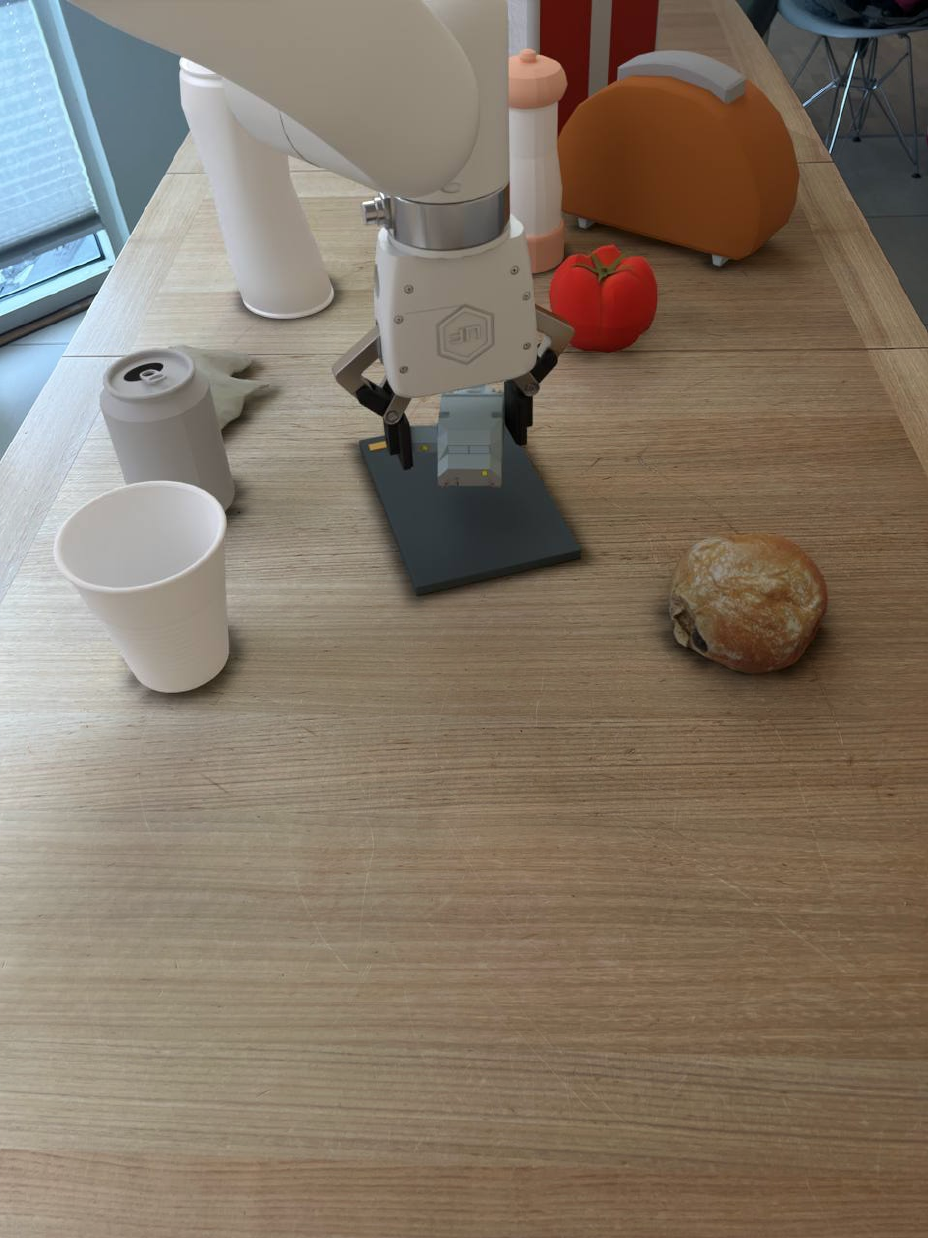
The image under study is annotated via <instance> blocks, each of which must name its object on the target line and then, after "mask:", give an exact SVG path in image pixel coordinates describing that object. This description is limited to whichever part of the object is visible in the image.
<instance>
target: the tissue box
mask: <svg viewBox="0 0 928 1238" xmlns="http://www.w3.org/2000/svg"><path fill="white" fill-rule="evenodd" d="M507 5H508V35H509V58H510V57H513V56H516V55H519V54H520V52H521V51H522V50H524V49H532V50H534V51H535V52H536V54H537V55H543V56H545V57H548V58H550V59H553V60H555V61H557V62H558V63H559V64H560V65H561V67H562V68H563V70H564V72H565V75H566V79H567V87H566V90H565V92H564V94H563V96H562V98H561V100H559V101H558V119H557V140H558V138H559V136H560V133H561V131H562V129H563V127H564V126H565V124H566V123H567V121H568V120H569V118H570V117H571V115H572V114H573V112H574V111H575V110H576V108H577V107H578V105H579V104H581V103H582V102H583V101H585V100H586V99H588V98H589V97H591V96H592V95H594V94H595V93H597V92H598V91H600V90H601V89H603V88H605V87H606V86H608V85H610V84H612V83H613V82H615V81H617V77H618V67H619V66H621V65H623V64H624V63H626V62H628V61H629V60H631V59H633V58H635V57H636V56H638V55H642V54H647V53H651V52H655V51H659V47H660V46H659V44H660V32H661V21H662V8H663V0H507Z"/></svg>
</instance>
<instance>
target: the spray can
mask: <svg viewBox="0 0 928 1238" xmlns="http://www.w3.org/2000/svg"><path fill="white" fill-rule="evenodd" d="M178 64H179V67H180V70H179V88H180V89H179V90H180V106H181V108H182V111H183V114H184V116H185V120H186V122H187V126H188V128H189V131H190V134H191V137H192V140H193V142H194V144H195V147H196V151H197V153H198V156H199V159H200V162H201V164H202V167H203V170H204V174H205V175H206V179H207V181H208V184H209V187H210V189H211V190H210V191H211V194H212V198H213V201H214V206H215V210H216V214H217V219H218V221H219V226H220V231H221V235H222V240H223V243H224V247H225V252H226V255H227V260H228V263H229V264H228V265H229V268H230V271H231V274H232V276H233V278H234V281H235V283H236V286H237V288H238V291H239V293H240V296H241V298H242V302H243V304H244V306H245V307H246V308H247V309H248V310H249V311H250V312H252V313H254V314H255V315H258V316H260V317H264V318H267V319H268V318H269V319H274V320H275V319H276V320H293V319H299V318H304V317H309V316H312V315H315V314H316V313H319V312H321V311H323V310H324V309H326V308H327V307H328V306H329V305H331V303H332V301H333V300H334V297H335V292H334V288H333V286H332V283H331V280H330V277H329V274H328V271H327V268H326V265H325V262H324V259H323V256H322V253H321V252H320V251H321V250H320V249H319V246H318V243H317V241H316V239H315V236H314V234H313V231H312V229H311V226H310V223H309V221H308V218H307V216H306V213H305V211H304V209H303V205H302V203H301V201H300V198H299V195H298V194H297V190H296V188H295V186H294V183H293V180H292V178H291V170H290V160H289V155H287V154H285V153H282V152H280V151H278V150H275V149H273V148H272V147H270V146H268V145H266V144H264V143H262V142H261V141H259V140H258V139H256V138H255V137H254V136H253V135H251V134H250V133H249V132H248V131H247V130H246V129H245V128H244V127H243V126H242V125H241V124H240V122H239V121H238V120H237V118H236V117H235V116H234V114H233V112H232V110H231V109H230V107H229V104H228V102H227V99H226V97H225V93H224V89H223V83H222V76H220V75H218V74H217V73H215V72H213V71H211V70H209V69H207V68H205V67H203V66H201V65H198V64H196V63H194V62H192V61H190V60H187V59H185V58H183V57H181V56H180V59H179V63H178Z"/></svg>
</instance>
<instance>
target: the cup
mask: <svg viewBox="0 0 928 1238" xmlns="http://www.w3.org/2000/svg"><path fill="white" fill-rule="evenodd" d="M227 528H228V525H227V515H226V513H225V512H224V510H223V508H222V506H221V505H220V503H219V502H218V501H217V500H216V498H215V497H213V496H212V495H211V494H209V493H208V492H206V491H205V490H203V489H200V488H198V487H196V486H193V485H189V484H185V483H182V482H173V481H148V482H141V483H134V484H130V485H126V484H125V485H123V486H118V487H115V488H113V489H111V490H109V491H106V492H104V493H102V494H100V495H97V496H96V497H93V498H92V499H90V500H88V501H86V502H85V503H84V504H83V505H81V506H80V507H78V508H77V509H76V510H75V511H74V512H73V513H71V515H69V517H67V519H66V520H65V521H64V523H63V524H62V525H61V526H60V528H59V529H58V531H57V534H56V536H55V537H54V541H53V547H52V548H53V549H52V555H53V559H54V560H53V561H54V565H55V566H56V568H57V570H58V571H59V573H60V574H61V576H63V577H64V578H65V579H66V580H67V581H68V582H69V583H71V584H72V585H73V587H74V588H75V590H76V591H77V593H78V594H79V596H80V597H81V598H82V600H83V602H84V603H85V604H86V606H87V607H88V609H89V610H90V611H91V613H92V614H93V615H94V617H95V619H96V620H97V621H98V623H99V624H100V626H101V627H102V629H103V630H104V632H105V633H106V634H107V636H108V638H109V639H110V641H111V642H112V643H113V644H114V646H115V649H117V650H118V652H119V653H120V655H121V656H122V658H123V659H124V661H125V663H126V664H127V666H128V667H129V668H130V670H131V672H132V673H133V675H134V676H135V677H136V679H137V680H138V681H139V682H140V683H141V684H142V685H143V686H144V687H146V688H148V689H150V690H153V691H156V692H159V693H165V694H166V693H167V694H168V693H171V694H172V693H183V692H189V691H191V690H192V691H193V690H195V689H198V688H199V687H202V686H204V685H205V684H207V683H208V682H210V681H212V680H213V679H214V678H216V676H217V675H219V673H220V672H221V671H222V670H223V668H224V667H225V665H226V663H227V661H228V659H229V655H230V643H229V642H230V640H229V639H230V638H229V622H228V620H229V619H228V603H227V582H226V580H227V579H226V560H225V558H226V557H225V537H226V533H227Z"/></svg>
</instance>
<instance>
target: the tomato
mask: <svg viewBox="0 0 928 1238" xmlns="http://www.w3.org/2000/svg"><path fill="white" fill-rule="evenodd" d="M587 252H588V254H587V255H585V254H580V253H578V254H573V255H569V256H568V257H566V259H565V260H564V261H563V262H561V263H560V264H559V266H557V268H556V270H555V272H554V274H553V275H552V278H551V280H550V283H549V284H550V285H549V292H548V299H549V300H548V301H549V308H550V311H551V312H553V313H555V314H557V315H559V316H561V317H563V318H565V319H567V320H568V321H569V323H570V324H571V326H572V327H573V328H574V330H575V335H574V337H573V338H572V340H571V341H570V343H569V344H568V345H570V346H571V347H572V348H573V349H577V350H579V351H581V352H584V353H586V352H590V353H591V352H592V353H604V354H613V353H616V352H621V351H623V350H626V349H628V348H630V347H631V346H633V345H634V344H636V342H637V341H638V339H639V338H640V336H642V335H643V334H645V333H646V332H647V331H648V330H650V328H651V326H652V325H653V323H654V320H655V317H656V314H657V308H658V301H659V300H658V299H659V296H658V294H659V293H658V282H657V279H656V276H655V272H654V270H653V268H652V267H651V265H650V263H649V261H647V260H646V259H645V258H644V256H641V255H639V256H629V257H625V256H627V255H629V254H630V253H632V250H629V251H627V252H624V253H621V251H620V250H619V249H618V248H617V246H616V245H615V244H608V245H602V246H599V247H598V248H596V249H595V250H594V251H592V252H591V251H589V250H587Z"/></svg>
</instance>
